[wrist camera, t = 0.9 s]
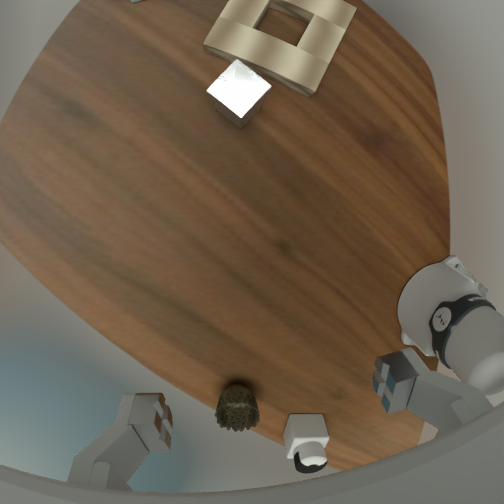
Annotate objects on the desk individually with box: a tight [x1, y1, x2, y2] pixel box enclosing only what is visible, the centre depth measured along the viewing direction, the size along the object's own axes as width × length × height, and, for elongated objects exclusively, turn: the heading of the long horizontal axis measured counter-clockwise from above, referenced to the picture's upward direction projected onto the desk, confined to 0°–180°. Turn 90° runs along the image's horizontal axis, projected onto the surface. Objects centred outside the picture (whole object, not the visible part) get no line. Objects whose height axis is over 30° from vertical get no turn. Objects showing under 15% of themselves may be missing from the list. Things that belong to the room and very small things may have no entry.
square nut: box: [203, 0, 357, 97], centre depth 35 cm, size 16×16×4 cm
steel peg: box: [207, 59, 271, 130], centre depth 34 cm, size 4×4×14 cm
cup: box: [215, 383, 260, 431], centre depth 51 cm, size 8×7×8 cm
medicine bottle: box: [283, 414, 329, 473], centre depth 53 cm, size 7×7×12 cm
